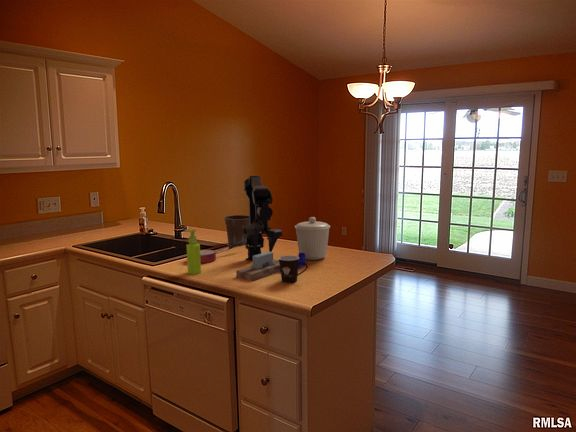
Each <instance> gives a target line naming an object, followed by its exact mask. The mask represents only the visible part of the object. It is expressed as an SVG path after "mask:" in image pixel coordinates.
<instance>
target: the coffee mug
mask: <svg viewBox="0 0 576 432" xmlns="http://www.w3.org/2000/svg"><path fill="white" fill-rule="evenodd" d="M278 260H279V264H280V276H281V277H280V279H281V282H282V283H284V284H294V283H297V281H298V277H299V275H301V274H303V273H304V272H306V270H308V263H307V262H306V263H305V262H299V257H298V255H282V256H279V257H278ZM301 263H304V264H305V269H304V270H301V272H299V269H298V266H299V265H300V264H301Z"/></svg>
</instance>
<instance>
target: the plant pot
mask: <svg viewBox="0 0 576 432" xmlns="http://www.w3.org/2000/svg"><path fill="white" fill-rule="evenodd" d="M223 219H224V222H225V223H224V224H225V226H226V236H227V243H228V245H229V246H231V245H233V244H236V243H238V242H240V241H243V244H240V245H238V246H245V240H246V237H247V236H246V234H244V228H245V227H247V226H249V225H250V223H249V215H247V214H236V215H232V214H231V215H227V216H224V217H223Z"/></svg>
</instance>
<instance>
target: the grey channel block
mask: <svg viewBox="0 0 576 432" xmlns="http://www.w3.org/2000/svg"><path fill="white" fill-rule="evenodd" d="M273 259H274V253H273V251H272V252H269V251H265V252H261V254H258V255H254V256H253V261H252V264H253V269H258V270H260V269H263V265H262V264H263V263H264V265H266V266H272V265H273Z"/></svg>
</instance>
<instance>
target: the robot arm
mask: <svg viewBox="0 0 576 432" xmlns="http://www.w3.org/2000/svg"><path fill="white" fill-rule="evenodd" d="M242 186H243V191H244V194H245V196H246V198H247V200H248V216H249V223H250V225H249V226H247V227H245V228H244V234H246V236H247V237H246V240H245V245H244V248H246V250H247V258H245V260H247V261H251V262H253V256H254V255H258V254H261V253H262V249H264V247H265V245H264V243H265V238H264V235H266V236H267V237H266V239H267V241H268V252H272V253H273V249H274V247H275V245H276V243H277V241H278V239H279V238H281V237H282V236H283V231H282V230H281V229H279V228H278V229H277V228H272V227H271V226H269V222H270V221H271V218H272V216H273V214H274V213H273V209H272V208H271V206H270V205H272V204H273V195H272V192H271V190H270V189H269V187H267V186H265V185H263V183H262V180H261V176H260V175H249V176H248V178H247V179H245V180H244V181H243V185H242ZM271 228H272V229H271Z"/></svg>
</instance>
